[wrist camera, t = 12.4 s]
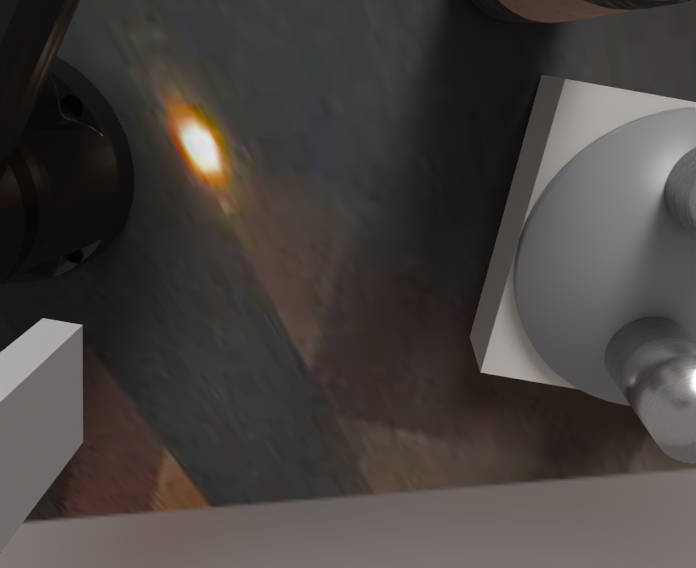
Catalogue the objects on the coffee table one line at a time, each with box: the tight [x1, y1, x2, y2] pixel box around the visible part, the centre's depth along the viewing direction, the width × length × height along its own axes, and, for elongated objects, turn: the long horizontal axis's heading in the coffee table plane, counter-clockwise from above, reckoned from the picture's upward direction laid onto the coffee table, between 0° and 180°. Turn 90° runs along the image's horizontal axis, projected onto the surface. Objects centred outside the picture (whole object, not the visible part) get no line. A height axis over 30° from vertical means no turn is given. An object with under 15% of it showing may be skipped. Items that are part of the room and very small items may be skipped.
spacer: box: [605, 316, 696, 464], centre depth 33 cm, size 5×5×7 cm
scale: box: [470, 75, 696, 406], centre depth 37 cm, size 20×18×6 cm
